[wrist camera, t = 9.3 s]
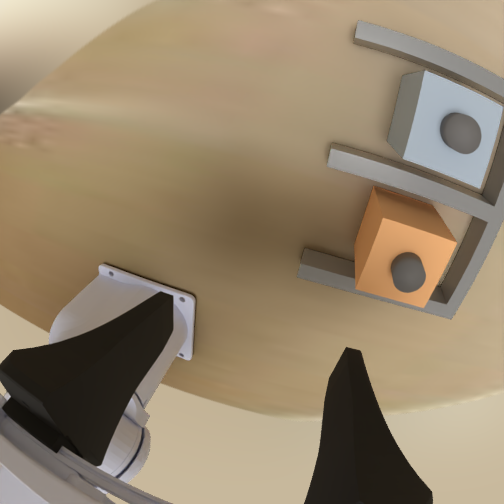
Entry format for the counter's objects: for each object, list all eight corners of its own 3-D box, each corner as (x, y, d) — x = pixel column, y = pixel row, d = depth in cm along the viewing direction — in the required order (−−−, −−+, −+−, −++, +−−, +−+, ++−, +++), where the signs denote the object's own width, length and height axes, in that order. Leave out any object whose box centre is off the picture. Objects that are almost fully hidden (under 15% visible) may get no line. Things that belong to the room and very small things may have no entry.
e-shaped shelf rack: (301, 260, 21) (296, 277, 19) (356, 27, 13) (357, 20, 12) (445, 301, 19) (451, 319, 18) (523, 99, 12) (539, 101, 10)
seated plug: (386, 141, 16) (407, 164, 11) (402, 75, 14) (431, 69, 9) (447, 163, 15) (488, 196, 10) (464, 100, 13) (514, 109, 8)
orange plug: (354, 243, 19) (355, 301, 14) (373, 185, 17) (385, 226, 12) (410, 260, 19) (426, 320, 14) (432, 205, 17) (463, 252, 12)
